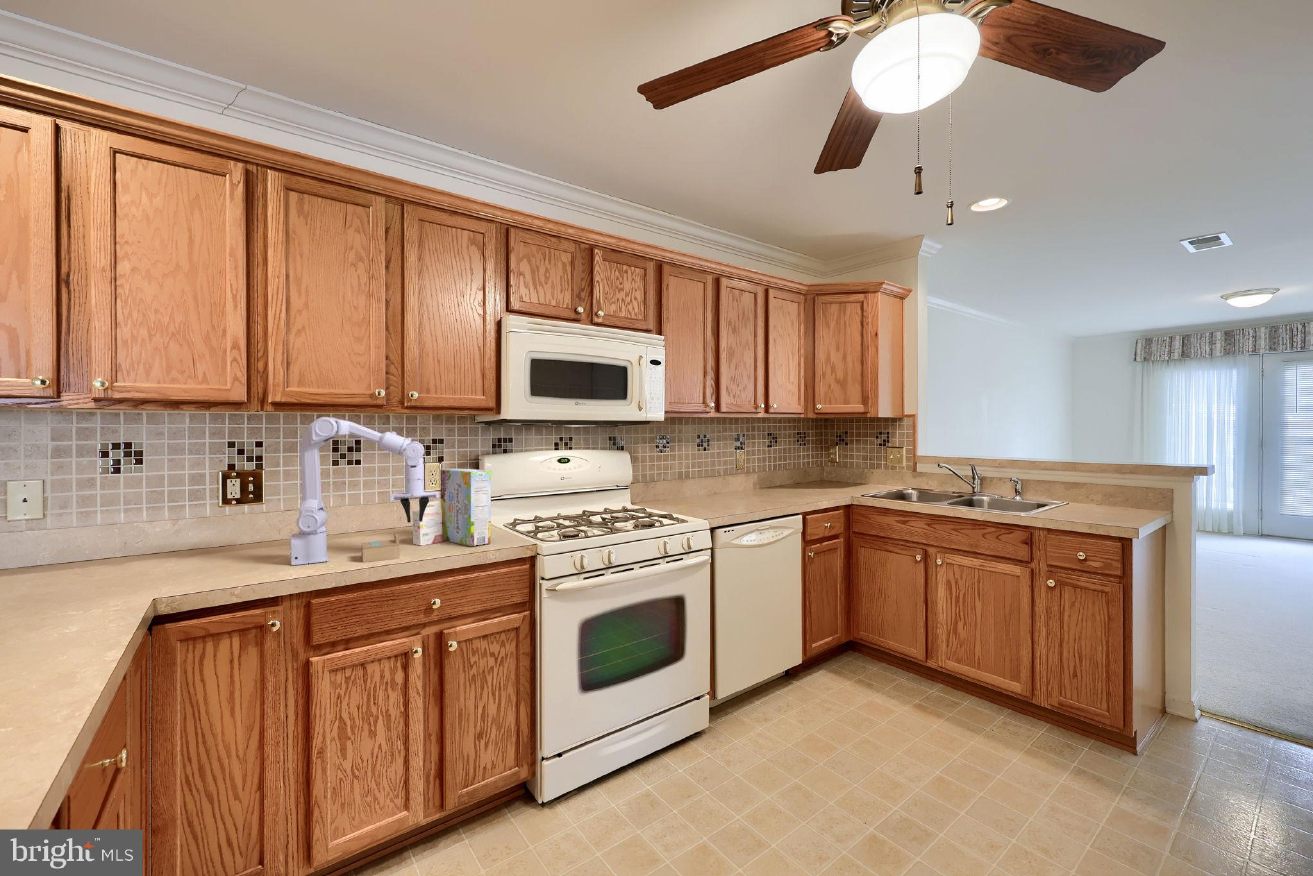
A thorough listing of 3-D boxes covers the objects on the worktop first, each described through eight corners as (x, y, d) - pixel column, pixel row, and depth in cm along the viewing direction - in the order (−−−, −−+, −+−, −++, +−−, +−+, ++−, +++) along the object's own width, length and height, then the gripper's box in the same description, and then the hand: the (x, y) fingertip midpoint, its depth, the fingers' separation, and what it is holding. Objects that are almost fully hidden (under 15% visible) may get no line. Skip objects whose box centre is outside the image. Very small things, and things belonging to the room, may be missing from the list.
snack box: (493, 543, 195) (492, 470, 194) (470, 548, 188) (469, 471, 188) (461, 536, 209) (460, 467, 209) (438, 539, 203) (438, 468, 202)
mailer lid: (362, 549, 168) (362, 540, 168) (361, 544, 175) (361, 535, 175) (399, 545, 173) (399, 536, 173) (396, 540, 180) (396, 532, 180)
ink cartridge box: (435, 540, 201) (434, 499, 201) (442, 542, 198) (442, 500, 198) (412, 544, 194) (411, 502, 194) (420, 546, 191) (419, 503, 191)
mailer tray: (363, 562, 168) (362, 549, 168) (361, 557, 175) (361, 544, 175) (399, 558, 173) (399, 545, 173) (396, 553, 180) (396, 541, 180)
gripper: (390, 481, 172) (391, 525, 172) (440, 479, 179) (441, 521, 179) (388, 479, 178) (389, 522, 178) (436, 477, 185) (437, 518, 185)
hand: (414, 521), depth 179 cm, fingers open, 3 cm apart
